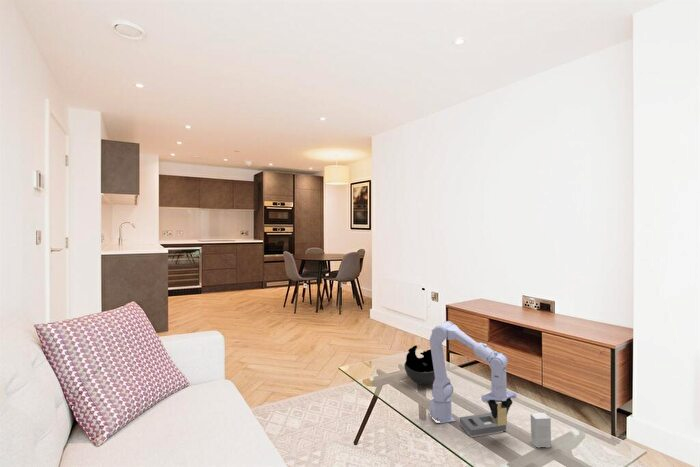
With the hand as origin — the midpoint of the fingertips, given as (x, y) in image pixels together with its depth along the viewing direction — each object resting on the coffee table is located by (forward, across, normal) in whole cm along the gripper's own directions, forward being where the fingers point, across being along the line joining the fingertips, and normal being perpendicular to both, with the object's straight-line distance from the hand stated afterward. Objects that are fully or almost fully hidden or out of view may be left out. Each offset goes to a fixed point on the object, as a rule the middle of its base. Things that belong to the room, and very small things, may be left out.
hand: (499, 416), depth 151 cm
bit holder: (+9, -3, +8) cm, 13 cm away
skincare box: (+10, +13, -8) cm, 18 cm away
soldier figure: (+10, +16, +27) cm, 33 cm away
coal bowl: (+10, -12, +54) cm, 56 cm away
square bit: (+2, 0, 0) cm, 3 cm away
